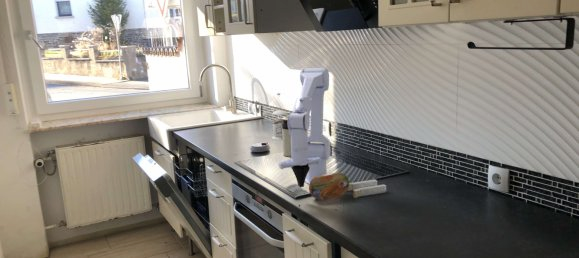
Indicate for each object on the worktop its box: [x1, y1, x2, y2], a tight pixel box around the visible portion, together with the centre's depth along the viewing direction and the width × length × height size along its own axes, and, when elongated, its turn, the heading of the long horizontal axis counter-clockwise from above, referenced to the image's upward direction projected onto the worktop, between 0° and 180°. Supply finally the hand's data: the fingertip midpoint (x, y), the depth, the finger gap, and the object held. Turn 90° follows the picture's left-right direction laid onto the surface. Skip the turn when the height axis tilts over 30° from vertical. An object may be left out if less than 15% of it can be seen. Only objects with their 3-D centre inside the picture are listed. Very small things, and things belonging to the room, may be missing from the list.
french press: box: [271, 92, 289, 140], centre depth 268 cm, size 10×12×25 cm
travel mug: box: [282, 116, 292, 158], centre depth 229 cm, size 8×8×18 cm
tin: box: [308, 172, 350, 201], centre depth 170 cm, size 15×3×8 cm, turn 115°
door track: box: [346, 179, 387, 199], centre depth 175 cm, size 10×13×2 cm
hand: (300, 186), depth 166 cm, fingers closed
